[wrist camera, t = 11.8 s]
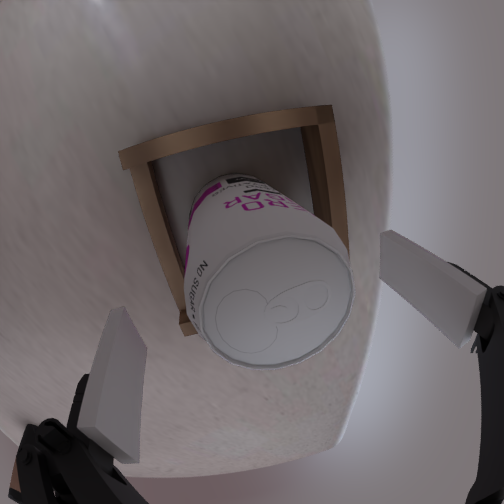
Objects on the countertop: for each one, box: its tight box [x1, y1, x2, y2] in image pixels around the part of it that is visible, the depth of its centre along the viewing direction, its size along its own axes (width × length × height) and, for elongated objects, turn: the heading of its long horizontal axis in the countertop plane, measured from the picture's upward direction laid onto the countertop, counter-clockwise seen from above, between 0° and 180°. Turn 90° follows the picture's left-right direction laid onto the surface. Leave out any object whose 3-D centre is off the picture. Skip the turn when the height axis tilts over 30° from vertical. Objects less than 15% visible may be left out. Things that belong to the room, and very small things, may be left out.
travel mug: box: [8, 424, 43, 504], centre depth 25 cm, size 8×8×20 cm
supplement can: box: [184, 173, 355, 370], centre depth 18 cm, size 8×8×15 cm
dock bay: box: [118, 105, 350, 336], centre depth 23 cm, size 16×17×4 cm
